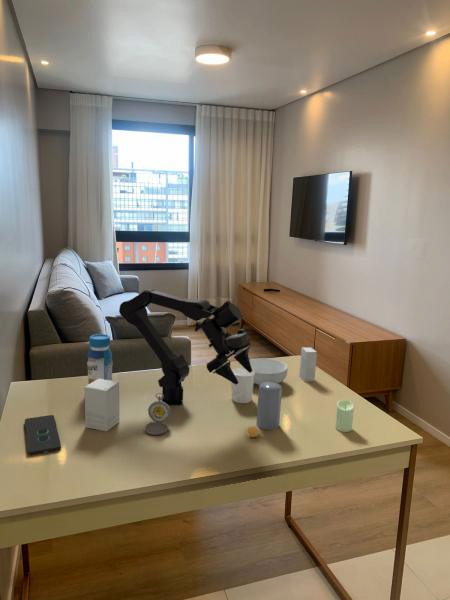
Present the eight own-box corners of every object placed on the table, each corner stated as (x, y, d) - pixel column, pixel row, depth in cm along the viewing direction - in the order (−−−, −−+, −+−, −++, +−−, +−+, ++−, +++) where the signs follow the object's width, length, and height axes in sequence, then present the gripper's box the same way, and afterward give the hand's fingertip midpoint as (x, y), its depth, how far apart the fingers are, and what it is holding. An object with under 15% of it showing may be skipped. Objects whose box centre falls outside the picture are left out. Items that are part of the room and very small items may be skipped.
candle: (350, 433, 135) (353, 407, 133) (333, 430, 137) (336, 404, 135) (352, 426, 140) (355, 401, 138) (335, 423, 141) (338, 398, 140)
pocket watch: (148, 438, 127) (149, 404, 125) (139, 425, 134) (140, 393, 132) (176, 432, 131) (176, 400, 129) (166, 420, 138) (166, 389, 136)
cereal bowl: (244, 373, 182) (245, 356, 180) (286, 376, 179) (287, 359, 178) (240, 388, 165) (241, 370, 164) (286, 393, 163) (287, 374, 162)
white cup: (251, 405, 151) (252, 377, 149) (228, 402, 153) (229, 374, 151) (254, 396, 159) (256, 369, 157) (232, 393, 160) (233, 366, 158)
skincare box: (314, 381, 176) (317, 351, 173) (304, 381, 175) (307, 352, 173) (308, 375, 182) (311, 347, 179) (298, 376, 181) (301, 347, 178)
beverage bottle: (116, 394, 155) (116, 338, 151) (92, 399, 150) (91, 341, 146) (107, 386, 162) (107, 332, 158) (84, 390, 157) (83, 334, 153)
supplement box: (120, 421, 136) (120, 381, 133) (106, 432, 129) (106, 390, 126) (99, 416, 138) (98, 377, 136) (84, 427, 131) (83, 386, 129)
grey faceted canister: (274, 431, 134) (277, 392, 131) (253, 426, 136) (256, 387, 134) (281, 422, 140) (284, 384, 137) (261, 418, 142) (263, 380, 140)
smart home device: (27, 451, 115) (23, 418, 132) (27, 458, 115) (24, 423, 132) (61, 445, 118) (54, 414, 136) (62, 451, 118) (54, 419, 136)
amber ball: (248, 439, 128) (249, 429, 128) (246, 434, 131) (247, 424, 131) (259, 439, 129) (259, 429, 128) (256, 434, 132) (257, 424, 131)
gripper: (218, 333, 129) (248, 379, 128) (248, 314, 144) (275, 355, 143) (193, 350, 135) (222, 394, 134) (225, 330, 150) (251, 370, 149)
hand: (244, 377), depth 140 cm, fingers open, 9 cm apart
